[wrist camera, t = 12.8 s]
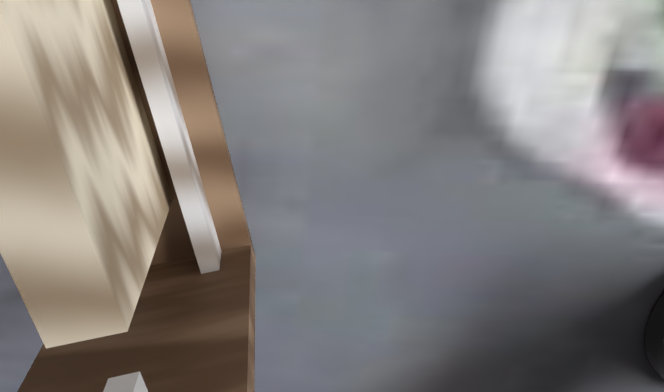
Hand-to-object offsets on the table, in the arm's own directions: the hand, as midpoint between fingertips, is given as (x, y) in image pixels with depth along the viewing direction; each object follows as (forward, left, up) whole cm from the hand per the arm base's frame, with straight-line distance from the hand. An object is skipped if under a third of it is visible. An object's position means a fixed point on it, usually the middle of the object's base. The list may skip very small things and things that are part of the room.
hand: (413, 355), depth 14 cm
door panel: (+5, +12, -24) cm, 27 cm away
